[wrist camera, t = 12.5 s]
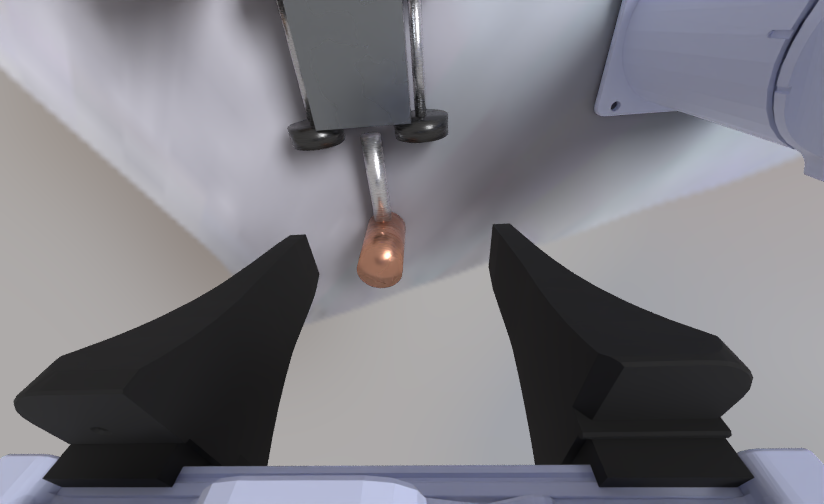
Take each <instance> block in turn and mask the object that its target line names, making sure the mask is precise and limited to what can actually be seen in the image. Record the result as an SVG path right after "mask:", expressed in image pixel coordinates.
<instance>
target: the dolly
mask: <svg viewBox="0 0 824 504" xmlns="http://www.w3.org/2000/svg"><path fill="white" fill-rule="evenodd" d="M276 2H277V6H278V9H279V13H280V17H281V21H282V24H283V28H284V32H285V36H286V39H287V43H288V47H289V51H290V54H291V58H292V62H293V66H294V69H295V73H296V77H297V81H298V84H299V88H300V92H301V96H302V99H303V103H304V107H305V110H306V114H307V118H308V120H303V121H299V122H296V123H294V124H291V125H290V126H288V128H287V129H288V132H289V135H290V139H291V142H292V145H293V148H294V149H297V150H303V151H310V150H320V149H325V148H329V147H333V146H336V145H338V144H340V143H342V142H343V141H344V140H345V136H344V131H343V129H345V128H358V127H371V126H385V125H394V127H395V136H396V139H397V140H399V141H403V142H409V143H422V142H430V141H435V140H439V139H442V138H444V137H445V136H447V135H448V113H447V112H445V111H442V110H433V109H426V104H425V82H424V60H423V39H422V17H421V0H408V15H409V30H410V45H411V60H412V76H413V91H414V106H415V110H414V111H411V109H410V95H409V82H408V68H407V54H406V41H405V27H404V14H403V0H276Z"/></svg>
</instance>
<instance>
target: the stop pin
mask: <svg viewBox="0 0 824 504" xmlns="http://www.w3.org/2000/svg"><path fill="white" fill-rule="evenodd" d="M360 138H361V144H362V150H363V156H364V161H365V167H366V173H367V179H368V184H369V190H370V196H371V201H372V207H373V213H374V215H373V216H372V217H371V219H370V220H369V223H368V227H367V231H366V234H365V238H364V242H363V246H362V250H361V254H360V257H359V261H358V265H357V273H358V276H359V277H360V279H361V280H362V281H363V282H365V283H366V284H368V285H370V286H373V287H377V288H386V287H390V286H393V285H395V284H396V283H397V282H398V281H399V280H400V279H401V277H402V271H403V257H404V243H405V223H404V221H403V219H402V218H401V217H400V216H399V215H397V214H395V213H393V212H391V208H390V200H389V193H388V186H387V178H386V171H385V163H384V156H383V148H382V141H381V134H380V133H379V132H368V133H364V134H361V135H360Z"/></svg>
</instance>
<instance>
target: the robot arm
mask: <svg viewBox="0 0 824 504" xmlns="http://www.w3.org/2000/svg"><path fill="white" fill-rule="evenodd" d="M616 101H617V105H616V107H615V108H614V109H612V110H611V105H612V104H613V103H614V102H616ZM594 111H595V113H596V114H597V115H599V116H615V115H628V114H642V113H655V112H669V111H680V112H683V113H686V114H689V115H692V116H695V117H698V118H701V119H704V120H707V121H710V122H713V123H716V124H719V125H722V126H725V127H729V128H732V129H735V130H738V131H741V132H744V133H747V134H750V135H753V136H756V137H759V138H762V139H765V140H768V141H771V142H774V143H777V144H780V145H783V146H786V147H789V148H792V149H796V150H797V151H799V152H800V153H801V154H802V156H803V158H804V161H805V168H804V174H805V175H808V176H810V177H813V178H815V179H818V180H821V181H823V182H824V0H622V4H621V8H620V11H619V15H618V19H617V23H616V27H615V30H614V34H613V38H612V42H611V46H610V49H609V53H608V57H607V61H606V65H605V68H604V72H603V76H602V80H601V84H600V87H599V91H598V95H597V99H596V103H595V106H594ZM489 271H490V277H491V282H492V287H493V291H494V294H495V297H496V300H497V302H498V306H499V308H500V312H501V314H502V317H503V320H504V323H505V326H506V329H507V332H508V335H509V338H510V341H511V345H512V348H513V352H514V357H515V361H516V366H517V371H518V375H519V379H520V385H521V390H522V395H523V399H524V405H525V410H526V415H527V421H528V426H529V431H530V437H531V442H532V448H533V455H534V461H535V465H439V466H438V465H418V466H417V465H414V466H267V465H268V459H269V453H270V448H271V442H272V436H273V431H274V426H275V422H276V417H277V412H278V407H279V402H280V399H281V395H282V390H283V386H284V382H285V378H286V374H287V371H288V367H289V363H290V360H291V356H292V353H293V350H294V347H295V344H296V342H297V339H298V337H299V334H300V332H301V329H302V327H303V324H304V322H305V319H306V317H307V314H308V312H309V309H310V306H311V304H312V301H313V299H314V296H315V292H316V288H317V283H318V278H319V272H318V269H317V266H316V263H315V260H314V257H313V254H312V251H311V249H310V246H309V243H308V240H307V237H306V234H305V235H290V236H289V237H287V238H285V239H284V240H282V241H281V242H279V243H278V244H277V245H275V246H274V247H273V248H271V249H270V250H269V251H267V252H266V253H265V254H263V255H262V256H260V257H259V258H258V259H256V260H255V261H254V262H252V263H251V264H250V265H248V266H247V267H245V268H244V269H242V270H241V271H240V272H238V273H237V274H235V275H234V276H232V277H231V278H229V279H228V280H226V281H225V282H223V283H222V284H220V285H219V286H217V287H215V288H214V289H212V290H210V291H209V292H207V293H205V294H203V295H202V296H200V297H198V298H197V299H195V300H193V301H191V302H189V303H187V304H185V305H183V306H181V307H179V308H177V309H175V310H173V311H171V312H169V313H167V314H165V315H163V316H161V317H159V318H157V319H155V320H153V321H150V322H148V323H146V324H144V325H141V326H139V327H137V328H134V329H132V330H129V331H127V332H125V333H122V334H120V335H117V336H115V337H112V338H110V339H107V340H105V341H102V342H99V343H96V344H93V345H91V346H88V347H85V348H83V349H80V350H77V351H74V352H71V353H69V354H66V355H63V356H61V357H59V358H58V359H57V360H56V361H54V362H53V363H52V364H51V365H50V366H49V367H48V368H47V369H45V370H44V371H43V372H42V373H41V374H40V375H39V376H38V377H37V378H36V379H35V380H34V381H32V382H31V383H30V384H29V385H28V386H27V387H26V388H25V389H24V390H23V391H21V392H20V393H19V394H18V395H17V396H16V398H15V400H14V406H15V409H16V411H17V412H18V413H19V414H20V415H21V416H22V417H23V418H25V419H26V420H28V421H29V422H31V423H32V424H34V425H36V426H38V427H39V428H41V429H43V430H45V431H47V432H49V433H50V434H52V435H54V436H56V437H58V438H59V439H61V440H63V441H65V442H67V443H68V444H71V445H70V446H69V447H68V448H67V449H66V451H65V452H64V453H63V454H62V455H61V457H58V456H54V455H50V454H8V455H5V456H3V457H2V458H1V459H0V504H824V464H823V463H822V462H821V461H820V460H819V459H818V458H817V457H816V456H815V454H814V453H813V452H812V451H810V450H808V449H805V448H788V449H787V448H781V449H780V448H775V449H774V448H772V449H771V448H770V449H749V450H744V451H740V452H738V453H736V452H735V450H734V449H733V448H732V446H731V445H730V444H729V442H728V441H727V440H726V438H729V437H730V436H731V430H730V429H729V428H728V426H727V425H726V424H725V423H724V421H723V420H722V419H721V416H722V415H723V414H724V413H725V412H727V411H728V410H729V409H730V408H731V407H732V406H733V405H735V404H736V403H737V402H738V401H739V400H740V399H741V398H743V397H744V395H745V394H746V393H747V392H748V391H749V390H750V387H751V383H752V380H753V376H752V374H751V371H750V370H749V369H748V368H747V367H746V366H745V364H744V363H743V362H742V361H741V360H740V359H739V358H738V357H737V356H736V355H735V354H734V353H733V352H732V351H731V350H730V349H729V348H728V347H727V346H726V345H725V344H724V343H723V341H721V339H719V337H717V336H715V335H712V334H709V333H707V332H704V331H701V330H698V329H695V328H692V327H689V326H686V325H683V324H681V323H678V322H675V321H672V320H669V319H667V318H664V317H662V316H659V315H657V314H654V313H652V312H650V311H647V310H644V309H642V308H639V307H638V306H635V305H633V304H631V303H628V302H626V301H624V300H622V299H620V298H618V297H616V296H614V295H612V294H610V293H608V292H606V291H604V290H602V289H600V288H598V287H596V286H595V285H593V284H591V283H589V282H588V281H586V280H584V279H582V278H581V277H579V276H577V275H576V274H574V273H573V272H571V271H570V270H568V269H566V268H565V267H564V266H562V265H561V264H559V263H558V262H556V261H555V260H554V259H552V258H551V257H550V256H548V255H547V254H546V253H544V252H543V251H542V250H540V249H539V248H538V247H537V246H536V245H534V244H533V243H532V242H531V241H529V240H528V239H527V238H526V237H525V236H524V235H522V234H521V233H520V232H519V231H518V230H517V229H515V228H514V227H513V226H512V225H511V224H493V228H492V238H491V248H490V258H489Z"/></svg>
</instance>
